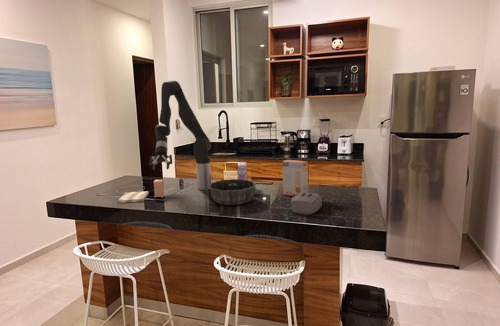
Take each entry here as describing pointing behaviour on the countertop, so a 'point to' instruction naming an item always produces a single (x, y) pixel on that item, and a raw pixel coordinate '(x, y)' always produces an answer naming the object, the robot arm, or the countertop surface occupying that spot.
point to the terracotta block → (159, 188)
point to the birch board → (133, 197)
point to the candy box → (242, 170)
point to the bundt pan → (232, 191)
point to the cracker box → (295, 177)
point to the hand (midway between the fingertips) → (160, 169)
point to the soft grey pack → (306, 203)
